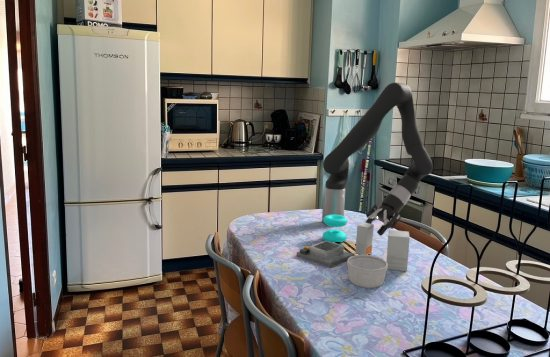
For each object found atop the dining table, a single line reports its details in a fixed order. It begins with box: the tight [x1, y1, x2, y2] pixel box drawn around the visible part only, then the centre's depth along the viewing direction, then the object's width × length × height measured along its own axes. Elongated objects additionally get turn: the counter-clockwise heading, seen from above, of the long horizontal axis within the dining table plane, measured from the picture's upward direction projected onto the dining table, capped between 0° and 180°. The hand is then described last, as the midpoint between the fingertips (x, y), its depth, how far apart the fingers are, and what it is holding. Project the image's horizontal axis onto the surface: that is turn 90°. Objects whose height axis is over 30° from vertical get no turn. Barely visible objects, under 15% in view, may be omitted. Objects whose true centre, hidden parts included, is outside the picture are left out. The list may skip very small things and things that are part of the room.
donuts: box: [322, 215, 348, 243], centre depth 194 cm, size 10×10×10 cm
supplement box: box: [386, 229, 411, 272], centre depth 166 cm, size 7×7×13 cm
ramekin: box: [346, 254, 388, 289], centre depth 154 cm, size 13×13×7 cm
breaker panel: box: [296, 240, 354, 269], centre depth 175 cm, size 16×14×4 cm
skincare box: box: [354, 221, 375, 255], centre depth 178 cm, size 6×4×12 cm
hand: (371, 231), depth 178 cm, fingers open, 8 cm apart
